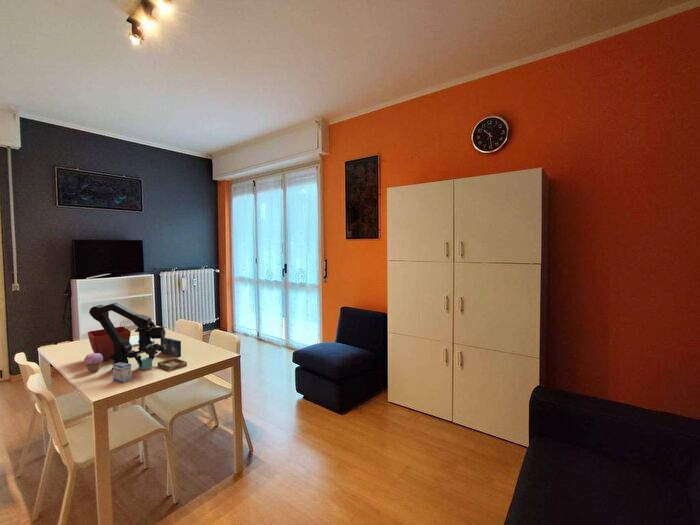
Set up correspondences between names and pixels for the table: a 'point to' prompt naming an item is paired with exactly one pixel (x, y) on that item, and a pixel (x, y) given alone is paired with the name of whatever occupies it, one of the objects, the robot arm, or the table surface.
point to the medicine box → (121, 372)
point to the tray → (172, 364)
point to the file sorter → (133, 339)
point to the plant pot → (106, 341)
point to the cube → (146, 363)
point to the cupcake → (93, 361)
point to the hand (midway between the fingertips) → (145, 365)
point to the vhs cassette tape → (171, 347)
